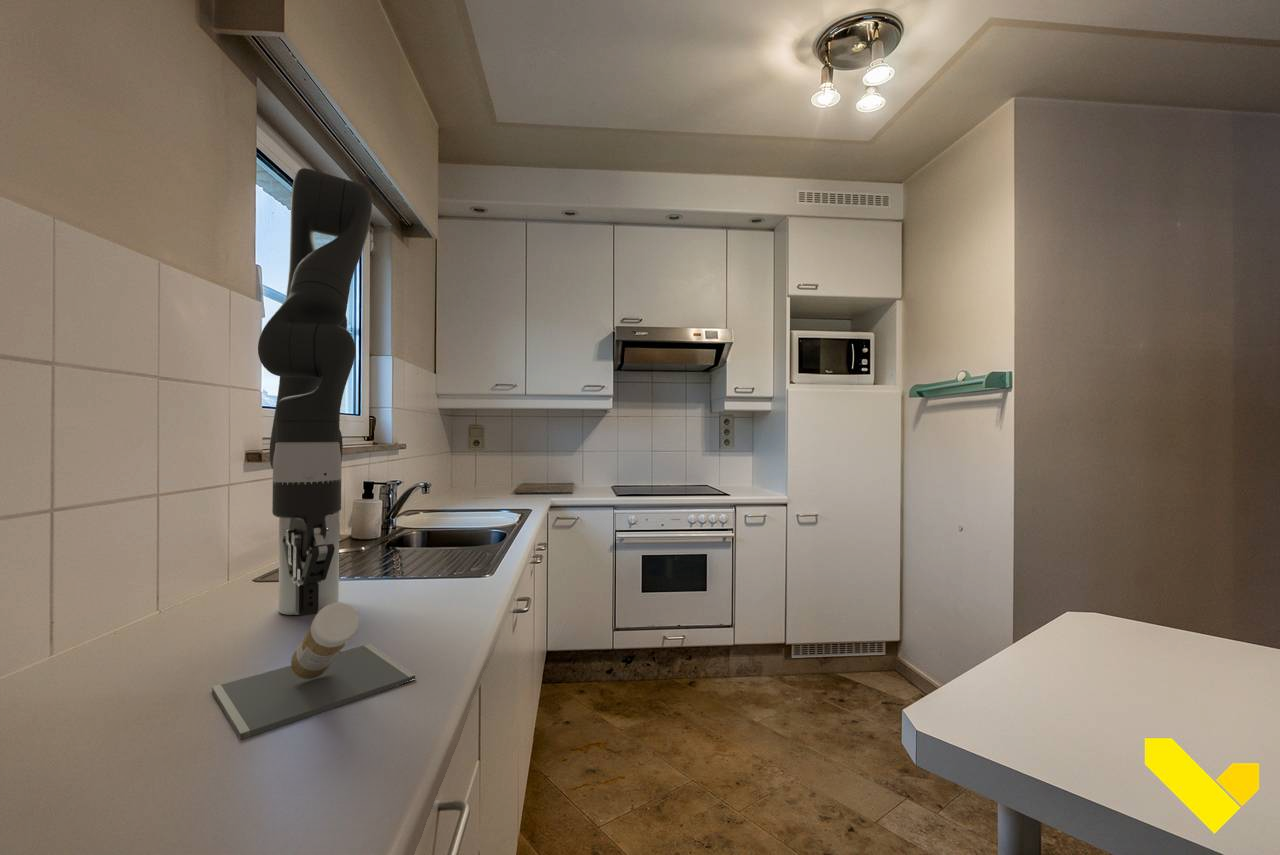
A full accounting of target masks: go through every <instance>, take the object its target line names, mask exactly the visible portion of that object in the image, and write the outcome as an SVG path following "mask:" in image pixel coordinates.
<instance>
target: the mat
mask: <svg viewBox="0 0 1280 855" xmlns="http://www.w3.org/2000/svg"><path fill="white" fill-rule="evenodd" d="M412 679H415V680H416V674H415V673H413V672H412V671H410V670H409V669H407V668H406V667H405V666H403V665H401V664H400V663H399V662H397V661H395V660H394V659H393V658H391V657H390V656H388V655H386V654H385V653H384V652H382V651H381V650H379V649H377V648H376V647H374V646H373V645H372V644H370V643H367V644H364V645H361V646H356V647H354V648H349V649H346V650H342V651H340V652H339V653H338V655H337V656H336V657H335V659H334V660H333V661H332V662H331V664H330V666H329V668H328V669H327V670H326V671H325V672H324V673H323V674H322V675H320V676H318V677H316V678H313V679H304V678H301V677H298V676H296V674H295V673H294V672H293V670H292V668H291V665H288V666H284V667H280V668H277V669H274V670H269V671H266V672H262V673H259V674H255V675H251V676H247V677H244V678H240V679H236V680H231V681H229V682H226V683H222V684H217V685H213V686H212V687H211V692H212V695H213V697H215V699H216V702H217V703H218V705H219V706H220V708H221V710H222V711H223V713H224V715H225V716H226V718H227V720H228V722H229V723H230V725H231V726H232V728H233V730H234V732H235V733H236V735H237V737H238V738H239V740H240V741H241V740H244V739H247V738H251V737H252V736H256V735H259V734H261V733H265V732H267V731H270V730H273V729H276V728H279V727H282V726H285V725H288V724H291V723H294V722H296V721H300V720H303V719H305V718H309V717H311V716H315V715H317V714H320V713H323V712H326V711H330V710H332V709H335V708H339V707H340V706H344V705H348V704H349V703H352V702H355V701H358V700H361V699H364V698H366V697H370V696H373V695H375V694H379V693H382V692H384V690H385V691H388V690H390V689H389V688H391V689H393V688H392V687H394V686H397V685H399V686H401V685H400V684H402V683H405V682H407V681H410V680H412ZM405 684H406V683H405ZM402 685H403V684H402ZM397 687H398V686H397ZM394 688H395V687H394ZM387 689H388V690H387ZM381 691H382V692H381Z"/></svg>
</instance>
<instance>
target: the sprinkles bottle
mask: <svg viewBox="0 0 1280 855" xmlns="http://www.w3.org/2000/svg"><path fill="white" fill-rule="evenodd" d="M359 623H360V617H359V614H358V612H357V610H356V609H355V608H354V607H353V606H352V605H350V604H348V603H345V602H341V601H340V602H338V603H332V604H329V605H327V606H325V607H323V608H322V609H321V610H320V611H319V612H316V615H315V617H314V618H313V620H312V622H311V625H310V628H309V629H308V630H307V632H306V634H305V636H304V637H303V638H302V640H301V642H300V643H299V645H298V647H297V649H296V650H295V651H294V652H293V654H292V657H291V659H290V660H291V661H290V666H291V668H292V670H293V672H294V673H295V674H296V676H298V677H301V678H304V679H313V678H316V677H318V676H320V675H322V674H323V673H324V672H325V671H326V670H327V669H328V668H329V666H330V664H331V662H332V661H333V660H334V659H335V657H336V656H337V655H338V653H339V652H342V651H341V650H342V649H344V646H345V645H346V643H347V642H349V641H350V640H351V639H352V638H353V636H354V635H355V633H356V632H357V630H358V627H359Z"/></svg>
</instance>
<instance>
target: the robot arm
mask: <svg viewBox="0 0 1280 855" xmlns="http://www.w3.org/2000/svg"><path fill="white" fill-rule="evenodd" d="M292 182H293V183H292V189H291V195H290V196H291V198H290V200H291V203H290V230H289V232H290V236H289V237H290V238H289V241H290V242H289V245H290V246H289V267H288V277H287V278H288V280H287V289H286V293H285V294H286V296H285V301H284V302H283V303H282V304H281V305H280V307H278V309H277V310H276V311H275V313H274V314H273V315H272V317H271V318H270V319H269V320H268V321H267V323H266V324H265V325H264V327H263V329H262V331H261V333H260V336H259V339H258V342H257V353H258V354H257V355H258V359H259V361H260V363H261V364H262V367H263V368H264V369H266V370H267V372H269V373H270V374H272V375H275V376H277V377H279V382H278V383H279V384H278V390H277V398H276V403H275V404H276V405H275V409H274V410H275V411H274V416H273V422H272V427H271V434H270V441H269V464H270V466H271V469H272V502H271V503H272V507H271V508H272V509H271V511H272V515H273V516H275V518H279V521H278V524H279V526H278V528H279V531H278V532H279V534H278V535H279V537H278V540H279V542H278V543H279V544H278V545H279V546H278V547H279V548H278V554H279V555H278V613H280V614H283V615H289V616H292V615H293V616H294V615H296V616H298V615H299V616H303V617H304V616H308V615H313V614H315V613H316V614H317V613H318V612H319V611H320V610H321V609H322V608H323V607H325V606H327V605H329V604H332V603H338V602H339V597H340V596H339V594H340V593H339V587H340V585H339V584H340V511H341V510H342V461H343V451H344V450H343V448H344V446H343V444H344V443H343V436H342V435H343V434H342V431H341V429H340V428H341V427H340V426H341V425H340V420H341V418H340V417H341V416H340V415H341V407H342V401H343V396H344V393H345V389H346V386H347V382H348V380H349V377H350V374H351V371H352V368H353V367H354V366H353V365H354V362H355V358H356V352H357V350H356V349H357V348H356V343H355V340H354V338H353V336H352V334H351V333H350V331H349V330H348V317H347V309H348V302H349V297H350V289H351V284H352V279H353V276H354V273H355V270H356V268H357V266H358V263H359V261H360V258H361V256H362V253H363V251H364V250H363V249H364V248H365V243H366V240H367V238H368V236H369V234H368V233H369V231H370V227H371V220H372V213H373V201H372V195H371V192H370V190H369V189H368V188H367V187H366V186H364V185H363V184H360V183H359V182H355V181H353V180H351V179H350V180H348V179H346V178H342V177H339V176H335V175H331V174H328V173H325V172H323V171H322V172H321V171H318V170H314V169H310V168H305V167H304V168H300V169H298V170H297V172H296V173H295V175H294V178H293V181H292ZM315 233H318V234H321V235H324V236H329V237H333V238H334V239H332V240H331V241H329V242H328V243H326V244H324V245H321V246H320V247H318V248H317V249H316V246H315V238H314V235H315Z"/></svg>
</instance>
